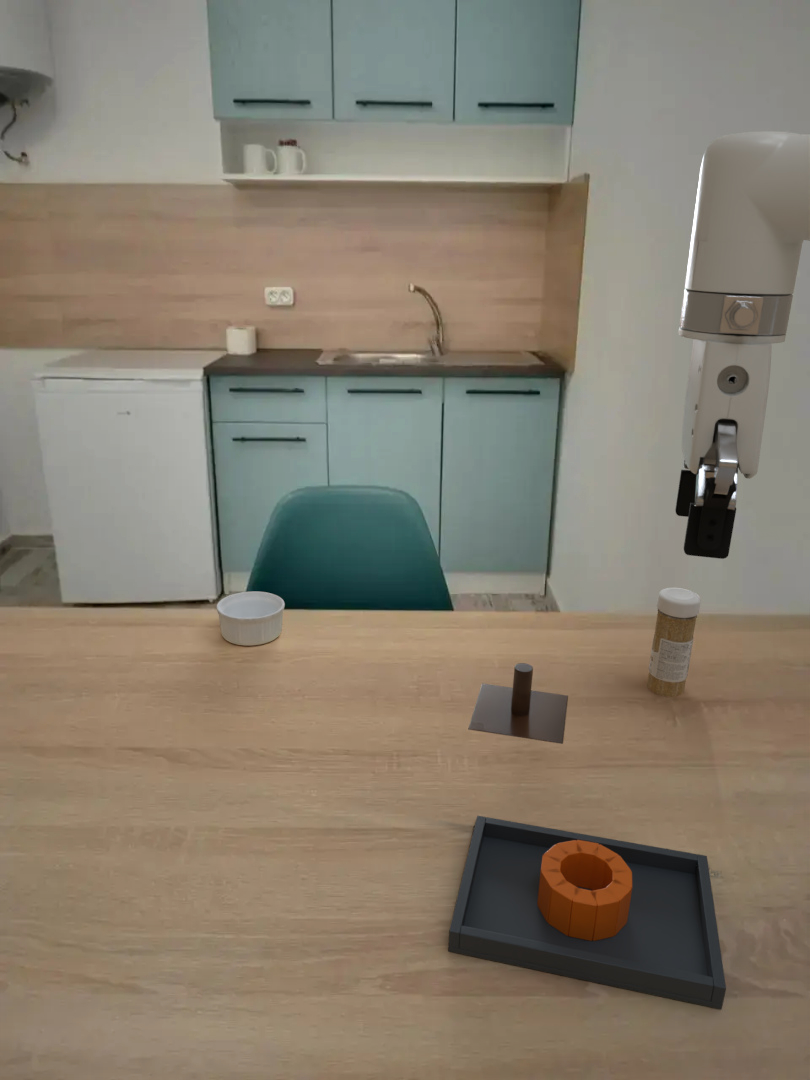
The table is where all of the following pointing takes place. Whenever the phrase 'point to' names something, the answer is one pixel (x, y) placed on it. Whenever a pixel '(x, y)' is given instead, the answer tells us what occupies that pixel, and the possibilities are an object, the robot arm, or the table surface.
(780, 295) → the robot arm
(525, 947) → the tray
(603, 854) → the orange octagonal ring
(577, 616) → the table surface
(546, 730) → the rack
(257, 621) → the ramekin
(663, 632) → the sprinkles bottle
